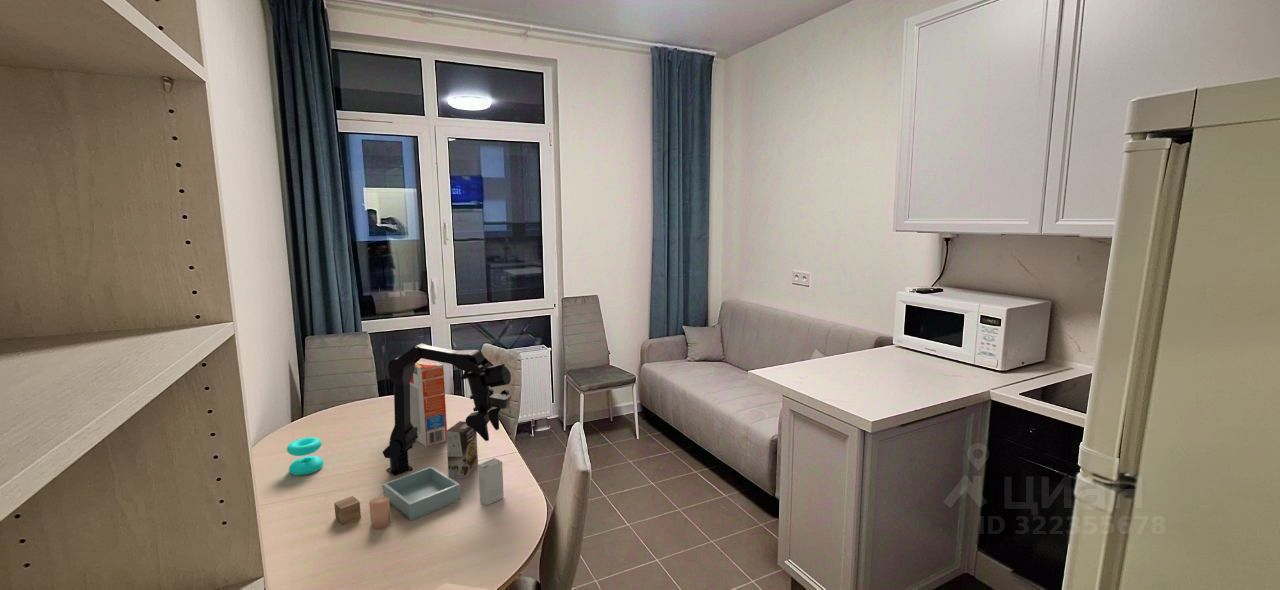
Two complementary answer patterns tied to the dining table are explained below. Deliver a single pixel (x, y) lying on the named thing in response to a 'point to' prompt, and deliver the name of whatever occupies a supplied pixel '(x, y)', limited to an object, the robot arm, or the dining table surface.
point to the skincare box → (490, 481)
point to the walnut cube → (347, 510)
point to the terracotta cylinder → (380, 512)
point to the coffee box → (461, 450)
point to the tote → (421, 492)
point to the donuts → (305, 463)
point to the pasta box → (428, 402)
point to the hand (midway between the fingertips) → (492, 435)
